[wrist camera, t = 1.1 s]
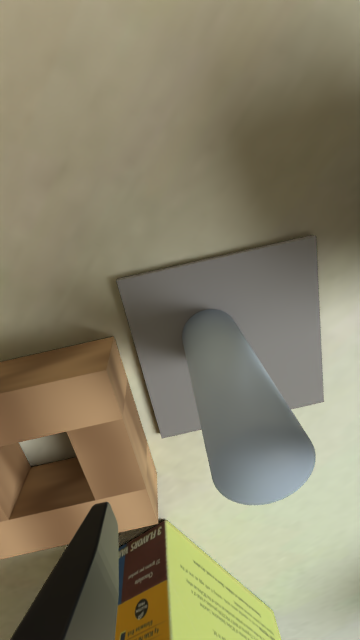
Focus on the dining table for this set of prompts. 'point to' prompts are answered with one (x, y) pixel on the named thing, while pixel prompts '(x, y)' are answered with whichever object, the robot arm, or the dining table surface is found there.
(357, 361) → the dining table surface
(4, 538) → the hole block
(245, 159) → the dining table surface
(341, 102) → the dining table surface
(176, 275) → the mat
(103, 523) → the robot arm
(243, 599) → the protein box
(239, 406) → the peg
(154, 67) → the dining table surface
